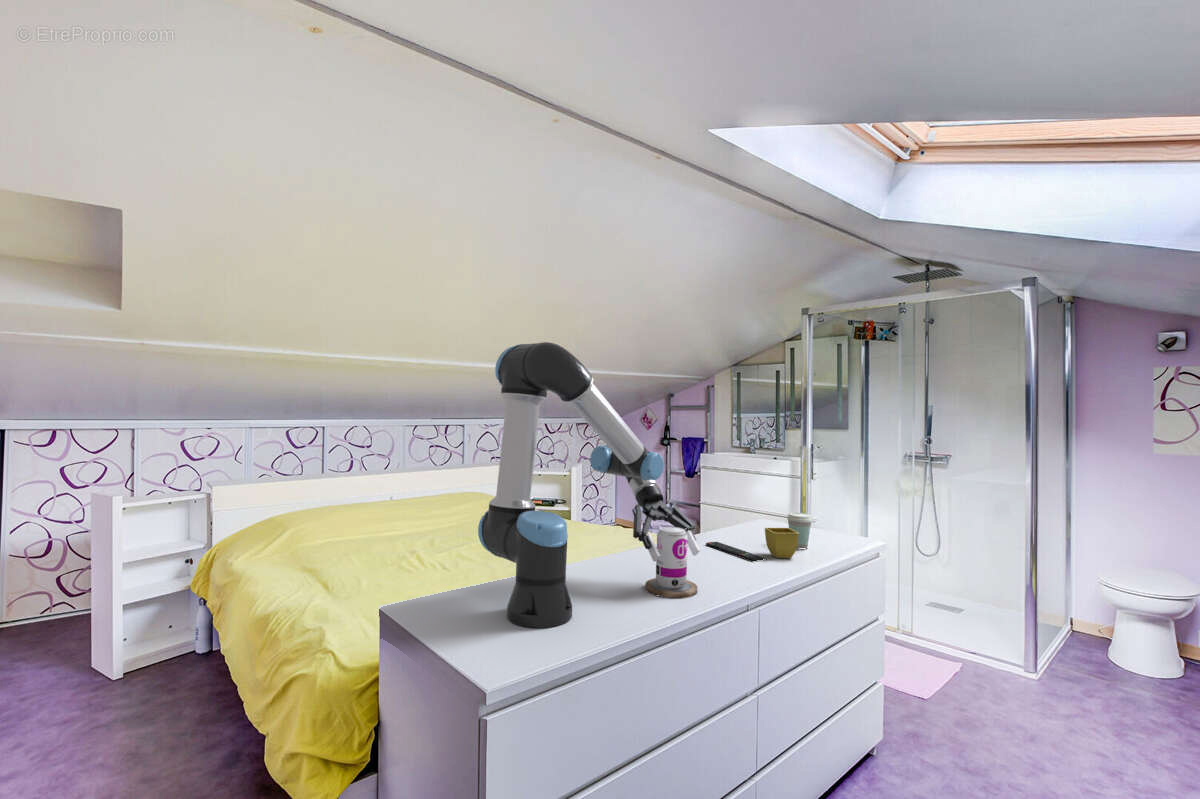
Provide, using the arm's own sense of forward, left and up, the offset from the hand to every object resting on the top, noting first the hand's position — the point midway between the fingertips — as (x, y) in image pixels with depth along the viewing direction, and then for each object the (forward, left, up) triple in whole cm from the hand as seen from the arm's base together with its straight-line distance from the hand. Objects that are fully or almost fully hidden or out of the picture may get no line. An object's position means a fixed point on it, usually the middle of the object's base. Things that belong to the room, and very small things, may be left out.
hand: (677, 556), depth 154 cm
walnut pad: (0, +2, -10) cm, 10 cm away
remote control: (+45, +25, -10) cm, 52 cm away
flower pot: (+56, +14, -10) cm, 59 cm away
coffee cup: (+72, +20, -10) cm, 75 cm away
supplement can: (0, +2, -9) cm, 9 cm away
